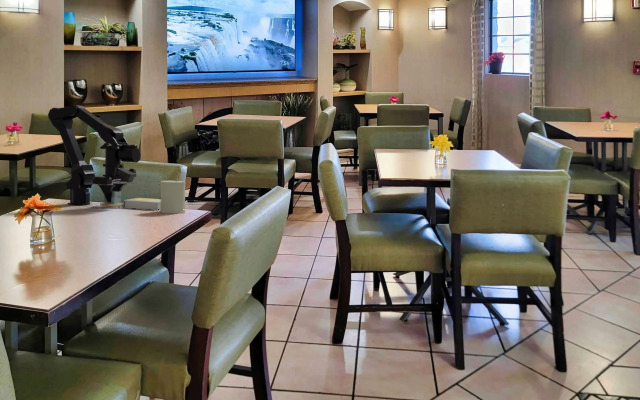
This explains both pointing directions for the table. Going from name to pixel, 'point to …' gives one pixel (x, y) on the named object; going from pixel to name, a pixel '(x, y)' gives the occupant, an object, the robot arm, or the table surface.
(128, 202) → the dock
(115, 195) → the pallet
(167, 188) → the can
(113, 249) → the table surface
